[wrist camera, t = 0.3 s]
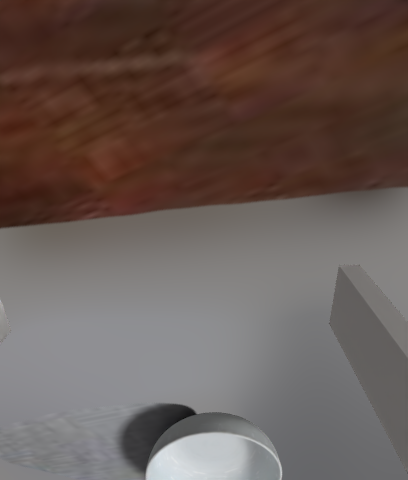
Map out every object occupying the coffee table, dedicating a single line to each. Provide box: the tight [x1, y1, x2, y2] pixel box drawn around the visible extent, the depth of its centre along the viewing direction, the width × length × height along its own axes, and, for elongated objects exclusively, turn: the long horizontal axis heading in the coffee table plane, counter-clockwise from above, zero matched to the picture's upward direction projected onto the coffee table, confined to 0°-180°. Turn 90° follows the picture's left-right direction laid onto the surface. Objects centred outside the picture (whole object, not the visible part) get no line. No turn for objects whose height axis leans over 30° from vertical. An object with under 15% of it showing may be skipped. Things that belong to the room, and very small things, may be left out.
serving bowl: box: [145, 413, 282, 480], centre depth 55 cm, size 21×21×7 cm
